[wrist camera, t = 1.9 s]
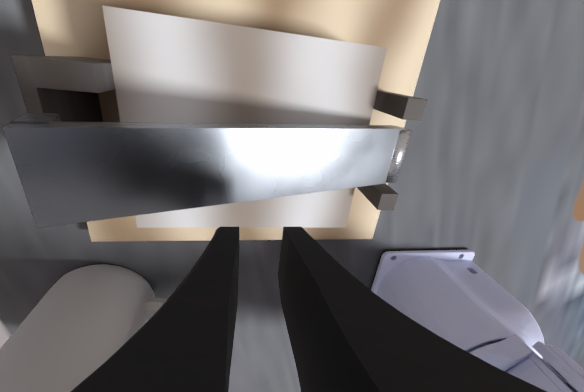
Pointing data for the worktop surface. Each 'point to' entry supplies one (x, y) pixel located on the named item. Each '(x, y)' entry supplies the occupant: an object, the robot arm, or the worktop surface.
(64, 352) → the cup
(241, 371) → the worktop surface
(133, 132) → the retention strap
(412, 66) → the board
